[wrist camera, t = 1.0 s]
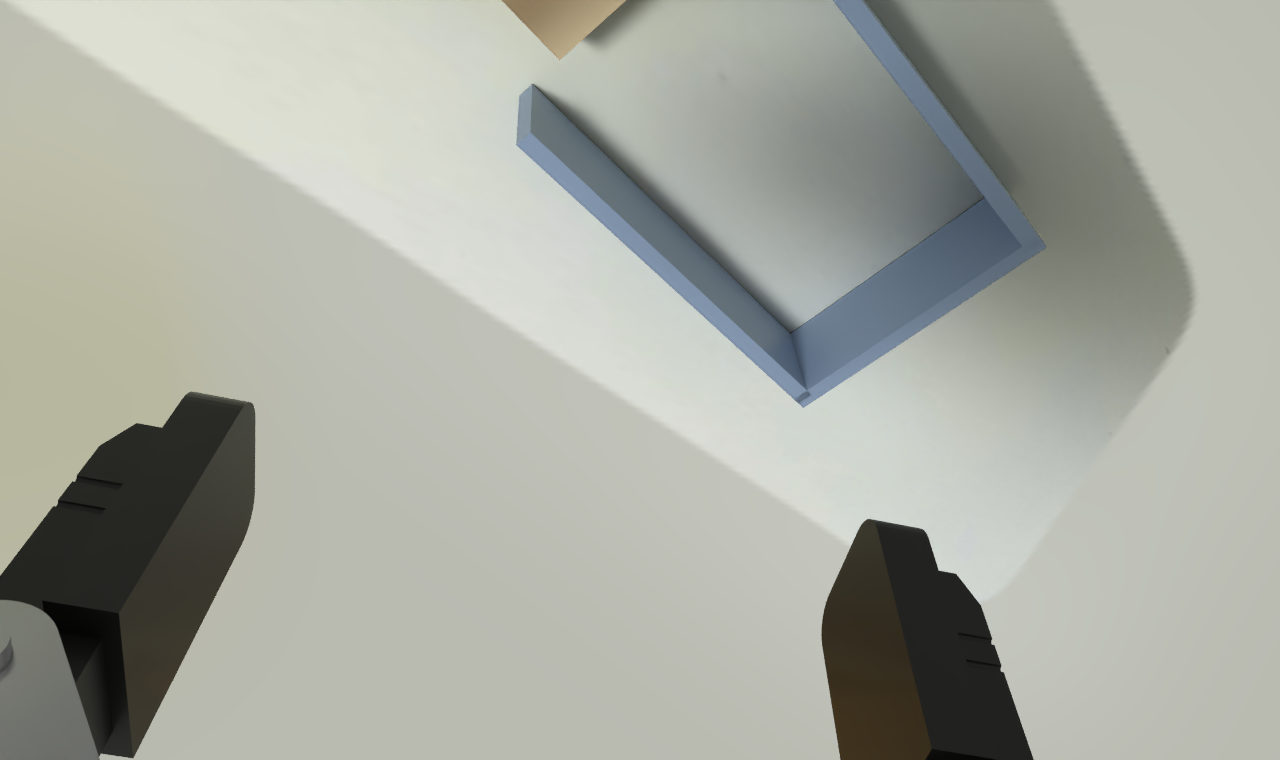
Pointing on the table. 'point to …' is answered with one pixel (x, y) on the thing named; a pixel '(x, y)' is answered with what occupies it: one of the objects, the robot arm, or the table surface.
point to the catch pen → (855, 322)
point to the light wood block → (562, 20)
